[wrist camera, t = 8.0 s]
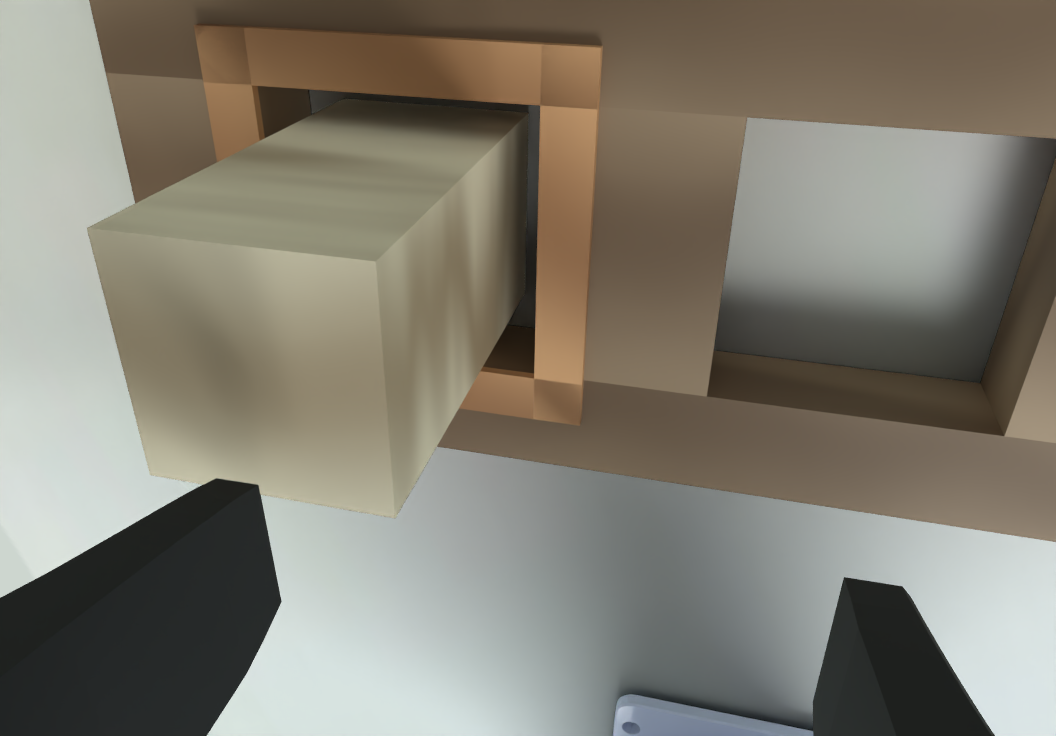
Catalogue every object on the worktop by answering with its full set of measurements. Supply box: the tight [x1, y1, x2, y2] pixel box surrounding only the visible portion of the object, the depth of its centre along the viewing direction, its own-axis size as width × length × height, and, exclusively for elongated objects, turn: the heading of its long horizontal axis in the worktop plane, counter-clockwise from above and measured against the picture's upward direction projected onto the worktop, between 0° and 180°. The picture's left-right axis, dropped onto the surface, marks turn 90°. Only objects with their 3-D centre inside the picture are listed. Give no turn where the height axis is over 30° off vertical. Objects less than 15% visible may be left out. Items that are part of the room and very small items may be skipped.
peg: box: [87, 99, 529, 518], centre depth 15 cm, size 4×4×8 cm
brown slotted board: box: [89, 0, 1056, 542], centre depth 16 cm, size 10×30×2 cm, turn 90°
